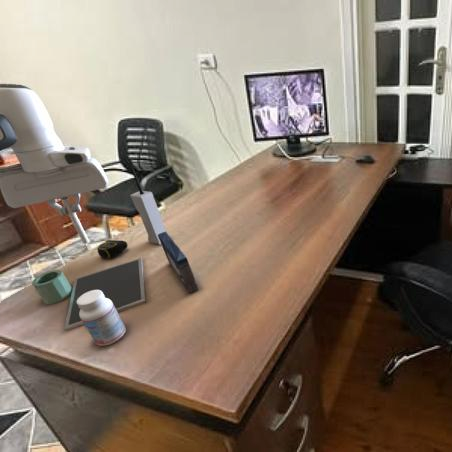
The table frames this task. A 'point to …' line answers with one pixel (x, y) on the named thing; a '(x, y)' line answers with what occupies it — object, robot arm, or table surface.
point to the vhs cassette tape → (178, 262)
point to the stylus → (75, 220)
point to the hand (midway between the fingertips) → (71, 212)
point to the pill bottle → (100, 318)
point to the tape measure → (111, 248)
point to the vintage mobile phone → (148, 212)
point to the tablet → (109, 289)
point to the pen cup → (52, 286)
